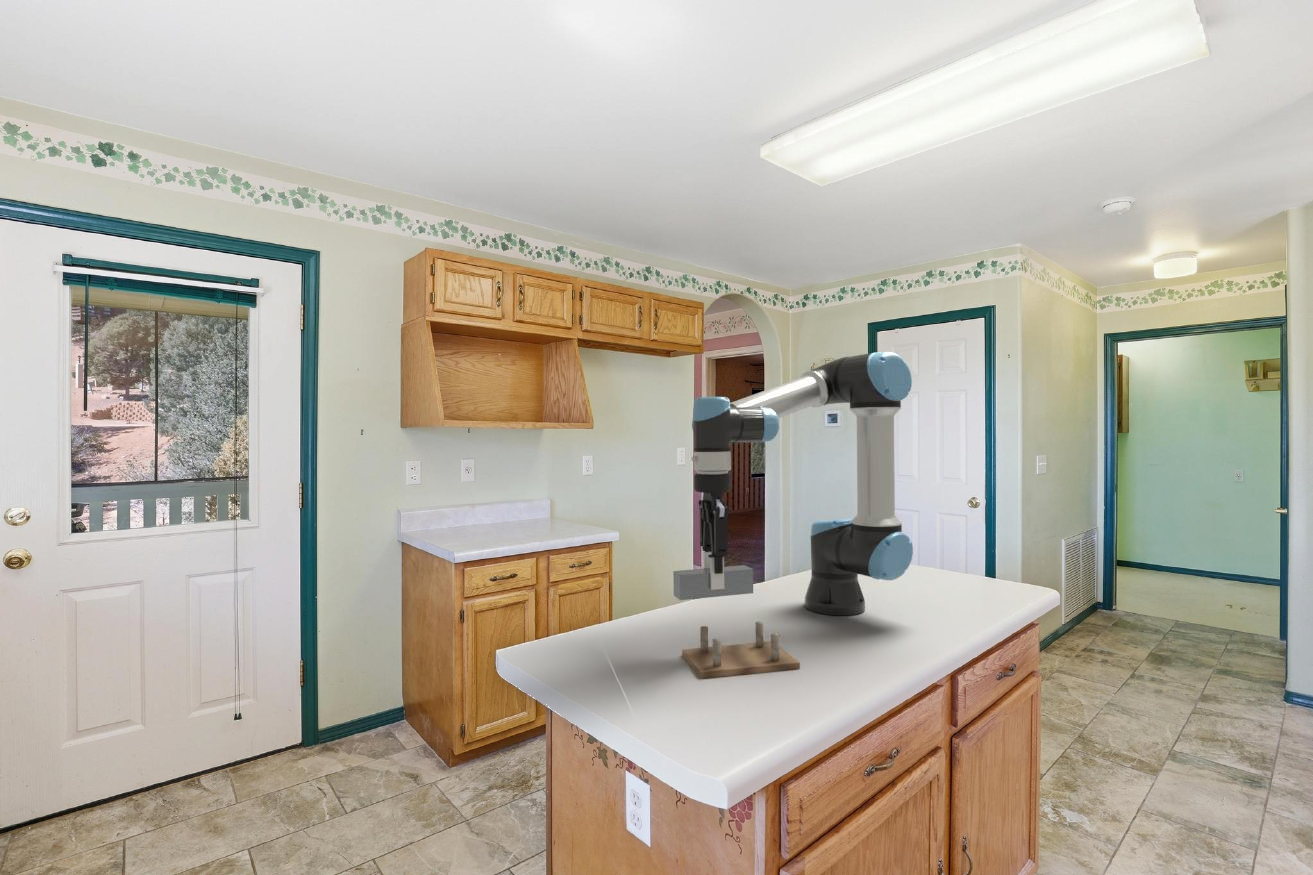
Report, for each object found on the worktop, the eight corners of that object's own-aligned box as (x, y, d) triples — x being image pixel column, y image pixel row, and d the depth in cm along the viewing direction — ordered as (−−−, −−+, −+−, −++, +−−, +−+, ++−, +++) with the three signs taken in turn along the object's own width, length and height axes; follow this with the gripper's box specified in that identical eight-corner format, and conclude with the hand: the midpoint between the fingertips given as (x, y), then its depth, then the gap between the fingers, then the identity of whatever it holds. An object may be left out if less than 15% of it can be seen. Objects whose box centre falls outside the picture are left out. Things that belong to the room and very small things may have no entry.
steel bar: (744, 588, 136) (744, 565, 136) (753, 593, 133) (753, 568, 132) (673, 595, 132) (673, 571, 132) (680, 600, 128) (679, 575, 128)
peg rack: (772, 646, 137) (772, 617, 137) (799, 668, 124) (799, 636, 124) (682, 655, 132) (682, 625, 132) (700, 678, 120) (700, 645, 120)
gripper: (684, 470, 140) (686, 577, 140) (706, 475, 122) (707, 597, 123) (717, 469, 141) (719, 575, 141) (743, 474, 124) (745, 595, 124)
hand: (713, 585), depth 132 cm, fingers closed on steel bar, 4 cm apart
